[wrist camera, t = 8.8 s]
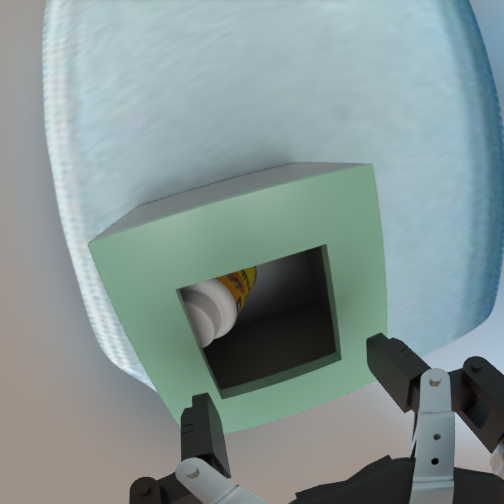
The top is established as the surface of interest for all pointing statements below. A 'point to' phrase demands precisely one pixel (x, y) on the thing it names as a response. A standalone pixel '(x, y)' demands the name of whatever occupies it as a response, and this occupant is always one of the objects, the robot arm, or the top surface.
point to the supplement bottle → (217, 303)
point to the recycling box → (255, 288)
